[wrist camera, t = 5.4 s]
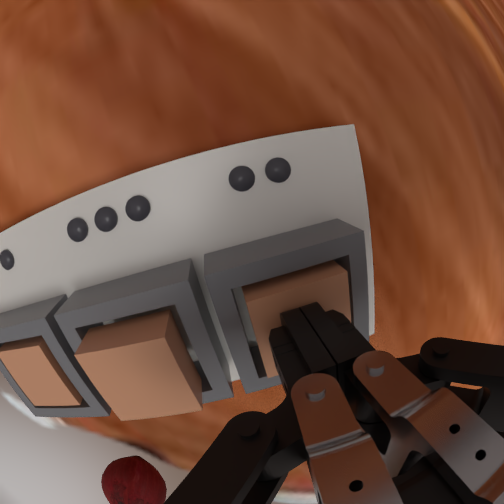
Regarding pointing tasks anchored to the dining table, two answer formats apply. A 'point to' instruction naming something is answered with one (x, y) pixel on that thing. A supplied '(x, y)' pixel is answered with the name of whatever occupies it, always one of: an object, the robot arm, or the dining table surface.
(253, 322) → the button two
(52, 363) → the button one
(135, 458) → the onion
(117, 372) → the button three
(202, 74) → the dining table surface
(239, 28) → the dining table surface
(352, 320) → the button panel
